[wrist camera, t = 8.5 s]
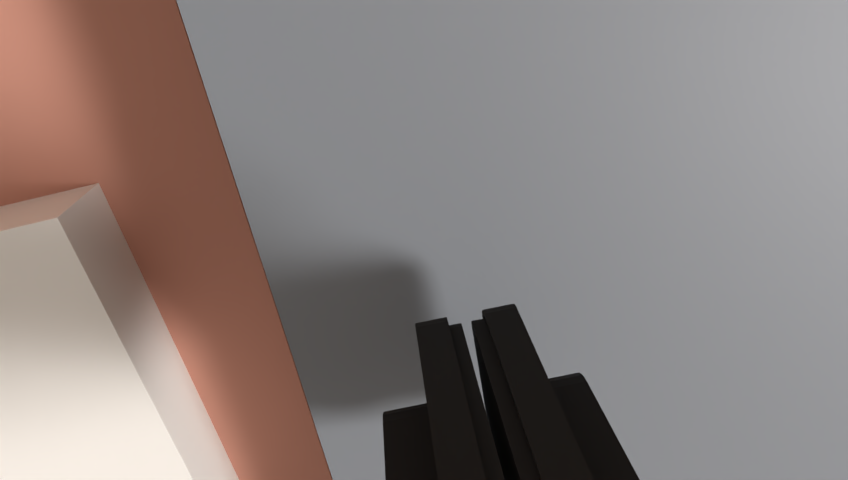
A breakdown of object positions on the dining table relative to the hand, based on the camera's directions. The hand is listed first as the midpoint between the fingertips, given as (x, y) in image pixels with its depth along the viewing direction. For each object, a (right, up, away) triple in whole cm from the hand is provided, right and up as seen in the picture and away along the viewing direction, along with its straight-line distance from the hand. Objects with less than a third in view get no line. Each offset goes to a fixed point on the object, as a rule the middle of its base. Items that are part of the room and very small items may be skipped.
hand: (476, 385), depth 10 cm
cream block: (-10, -2, +3) cm, 10 cm away
